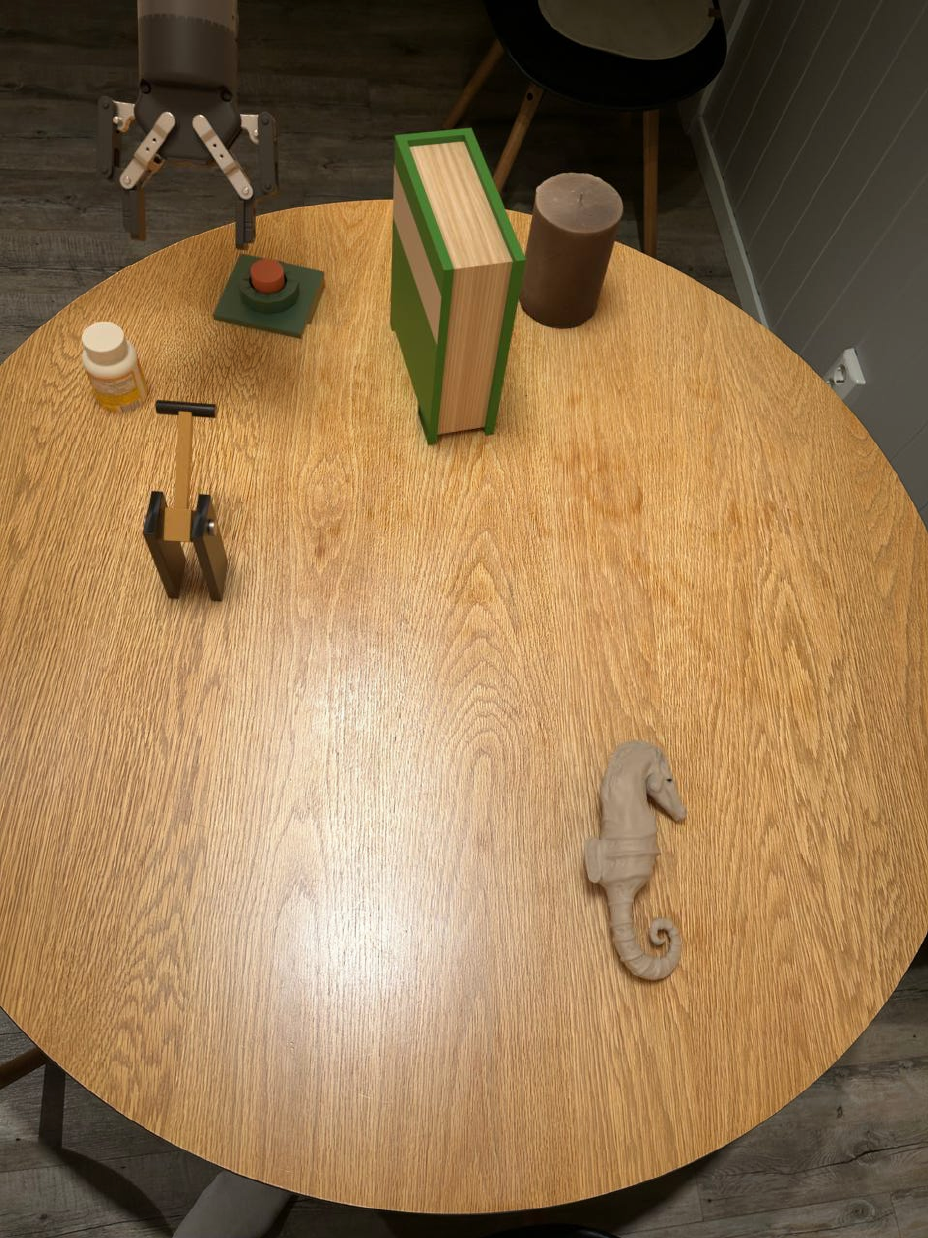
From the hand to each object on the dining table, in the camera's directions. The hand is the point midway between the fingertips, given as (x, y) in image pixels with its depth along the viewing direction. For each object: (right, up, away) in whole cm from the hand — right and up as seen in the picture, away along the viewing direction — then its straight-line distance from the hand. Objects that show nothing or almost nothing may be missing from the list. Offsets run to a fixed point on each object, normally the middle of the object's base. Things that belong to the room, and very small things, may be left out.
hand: (190, 245), depth 79 cm
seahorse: (+38, -53, +4) cm, 65 cm away
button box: (+1, +5, +29) cm, 30 cm away
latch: (-1, -19, +4) cm, 19 cm away
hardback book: (+20, -4, +27) cm, 34 cm away
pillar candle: (+34, +7, +34) cm, 49 cm away
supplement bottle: (-13, -8, +22) cm, 27 cm away
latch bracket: (-3, -28, +12) cm, 31 cm away
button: (+1, +6, +26) cm, 27 cm away
